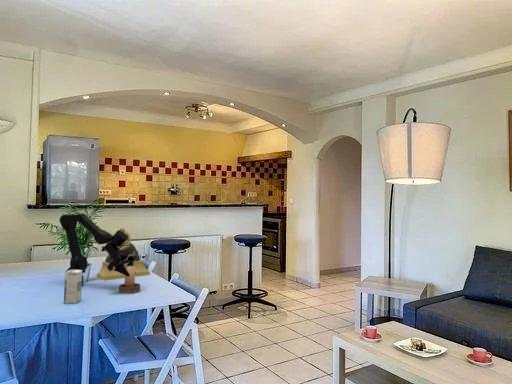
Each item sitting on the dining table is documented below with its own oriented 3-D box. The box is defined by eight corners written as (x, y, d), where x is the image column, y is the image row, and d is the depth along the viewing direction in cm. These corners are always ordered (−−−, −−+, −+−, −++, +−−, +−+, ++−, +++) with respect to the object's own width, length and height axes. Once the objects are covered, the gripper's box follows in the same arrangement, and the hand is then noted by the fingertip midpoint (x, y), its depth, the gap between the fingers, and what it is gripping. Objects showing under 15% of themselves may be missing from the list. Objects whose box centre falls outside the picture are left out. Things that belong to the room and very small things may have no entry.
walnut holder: (125, 294, 191) (125, 288, 191) (115, 290, 198) (115, 285, 198) (144, 291, 199) (144, 285, 199) (133, 287, 206) (133, 282, 206)
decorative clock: (104, 280, 221) (105, 229, 221) (96, 276, 231) (98, 227, 231) (149, 275, 239) (151, 227, 239) (141, 271, 249) (142, 225, 249)
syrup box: (68, 300, 179) (69, 269, 179) (81, 300, 180) (82, 269, 180) (63, 303, 174) (64, 271, 174) (76, 303, 174) (77, 271, 174)
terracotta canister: (124, 288, 195) (125, 267, 195) (124, 286, 200) (124, 265, 200) (135, 288, 197) (135, 266, 197) (134, 285, 202) (134, 265, 202)
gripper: (112, 244, 191) (131, 268, 188) (134, 240, 209) (151, 261, 206) (99, 258, 193) (117, 282, 190) (121, 253, 211) (138, 275, 208)
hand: (132, 274), depth 198 cm, fingers closed on terracotta canister, 5 cm apart
